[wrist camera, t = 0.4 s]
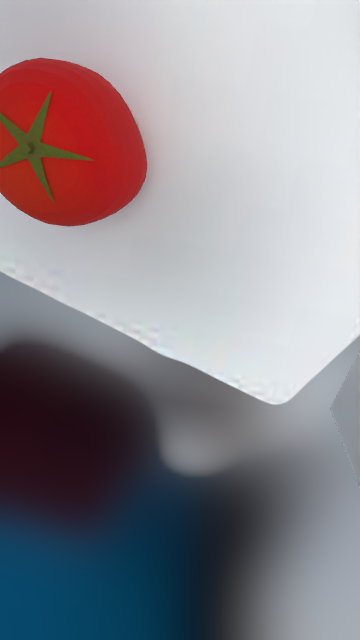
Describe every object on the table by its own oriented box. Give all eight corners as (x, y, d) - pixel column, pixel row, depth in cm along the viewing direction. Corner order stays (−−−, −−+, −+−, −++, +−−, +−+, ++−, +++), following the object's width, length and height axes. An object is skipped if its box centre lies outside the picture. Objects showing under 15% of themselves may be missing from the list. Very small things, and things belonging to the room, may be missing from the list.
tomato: (178, 116, 31) (154, 120, 19) (130, 224, 37) (88, 279, 25) (48, 35, 29) (-72, -17, 17) (18, 163, 35) (-87, 192, 23)
